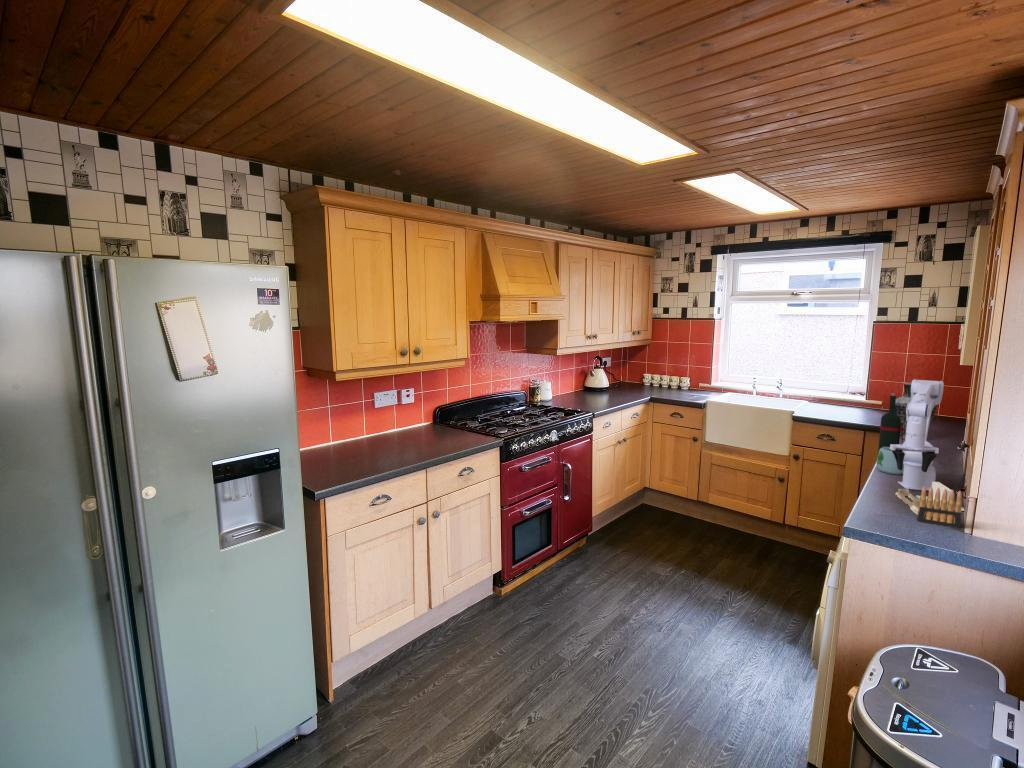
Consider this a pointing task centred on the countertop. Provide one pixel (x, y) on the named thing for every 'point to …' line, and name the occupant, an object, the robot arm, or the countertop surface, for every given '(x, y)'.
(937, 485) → the cream rectangular block
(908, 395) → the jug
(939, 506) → the ammunition clip
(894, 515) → the countertop surface
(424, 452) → the countertop surface
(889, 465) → the mug
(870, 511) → the countertop surface
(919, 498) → the sage mat
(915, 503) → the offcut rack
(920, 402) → the robot arm
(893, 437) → the wine bottle
